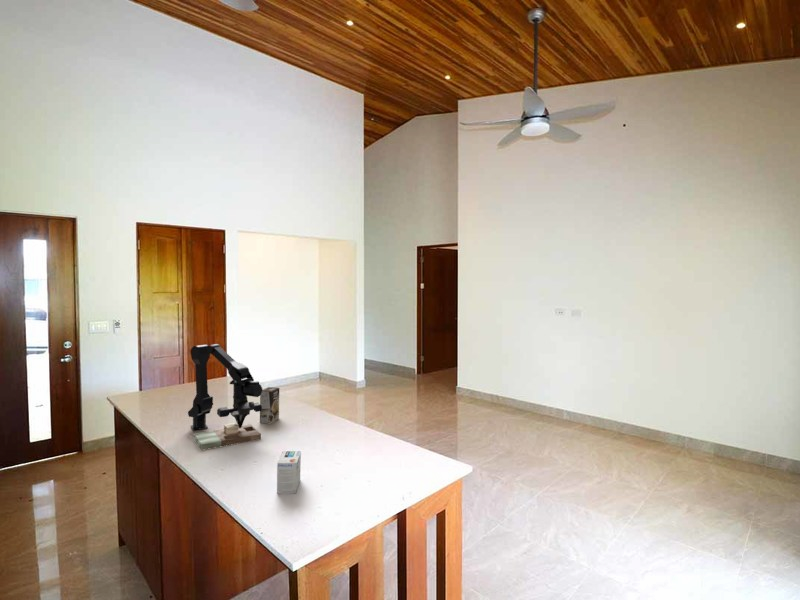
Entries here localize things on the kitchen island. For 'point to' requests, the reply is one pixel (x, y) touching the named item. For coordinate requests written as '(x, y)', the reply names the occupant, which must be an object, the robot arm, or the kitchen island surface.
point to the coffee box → (269, 405)
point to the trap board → (226, 437)
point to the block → (231, 428)
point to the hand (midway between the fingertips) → (239, 428)
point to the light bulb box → (288, 472)
